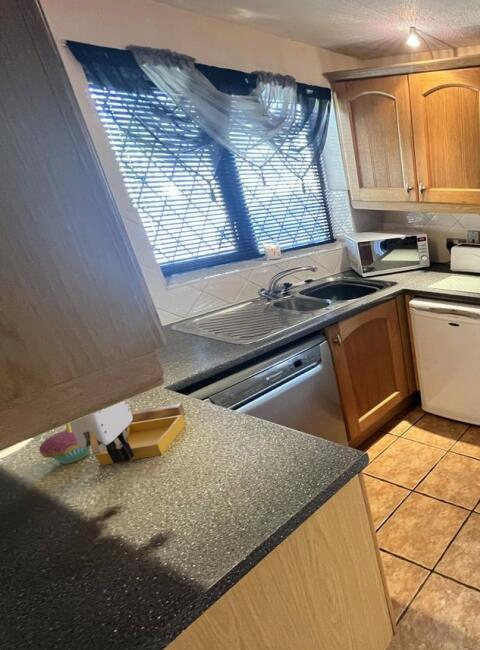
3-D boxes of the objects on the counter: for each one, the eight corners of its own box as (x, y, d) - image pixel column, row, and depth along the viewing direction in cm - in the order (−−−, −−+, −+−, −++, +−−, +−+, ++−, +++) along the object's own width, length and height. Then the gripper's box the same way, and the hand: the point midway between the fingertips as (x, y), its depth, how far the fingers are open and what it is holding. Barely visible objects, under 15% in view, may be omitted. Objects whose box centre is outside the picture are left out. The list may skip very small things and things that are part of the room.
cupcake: (102, 440, 97) (83, 400, 93) (98, 458, 91) (76, 416, 86) (52, 456, 92) (29, 414, 87) (44, 476, 86) (18, 433, 81)
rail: (119, 426, 102) (114, 417, 101) (123, 422, 104) (119, 413, 103) (181, 416, 106) (178, 407, 105) (184, 412, 108) (181, 403, 106)
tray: (100, 465, 89) (94, 455, 87) (131, 433, 99) (127, 423, 98) (162, 454, 92) (157, 444, 91) (186, 424, 102) (182, 414, 101)
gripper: (92, 377, 87) (124, 442, 94) (39, 416, 74) (80, 488, 80) (132, 371, 89) (161, 435, 96) (87, 408, 76) (124, 479, 82)
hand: (124, 459), depth 88 cm, fingers closed
